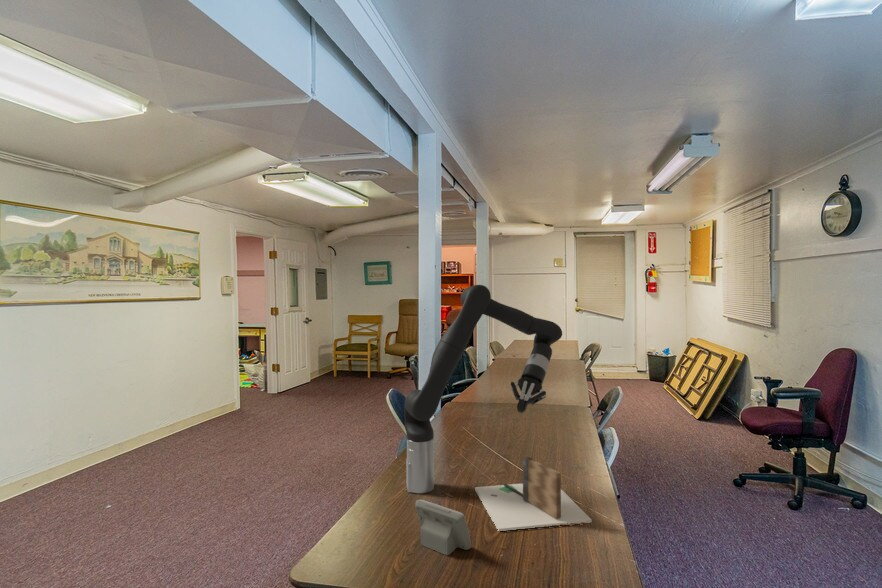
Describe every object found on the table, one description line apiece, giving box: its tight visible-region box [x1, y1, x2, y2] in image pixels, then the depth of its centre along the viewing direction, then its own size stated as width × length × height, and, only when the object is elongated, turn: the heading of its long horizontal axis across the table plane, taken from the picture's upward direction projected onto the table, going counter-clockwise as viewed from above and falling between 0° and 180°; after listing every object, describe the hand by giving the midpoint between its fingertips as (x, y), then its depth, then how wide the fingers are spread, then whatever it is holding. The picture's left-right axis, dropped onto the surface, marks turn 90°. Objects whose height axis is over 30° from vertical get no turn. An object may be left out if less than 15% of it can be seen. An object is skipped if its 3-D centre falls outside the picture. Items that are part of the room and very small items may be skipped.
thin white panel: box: [474, 483, 593, 532], centre depth 148 cm, size 28×28×1 cm
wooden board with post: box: [503, 456, 562, 519], centre depth 148 cm, size 26×3×13 cm, turn 29°
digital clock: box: [415, 499, 472, 556], centre depth 126 cm, size 16×9×11 cm, turn 42°
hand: (520, 411), depth 155 cm, fingers closed
